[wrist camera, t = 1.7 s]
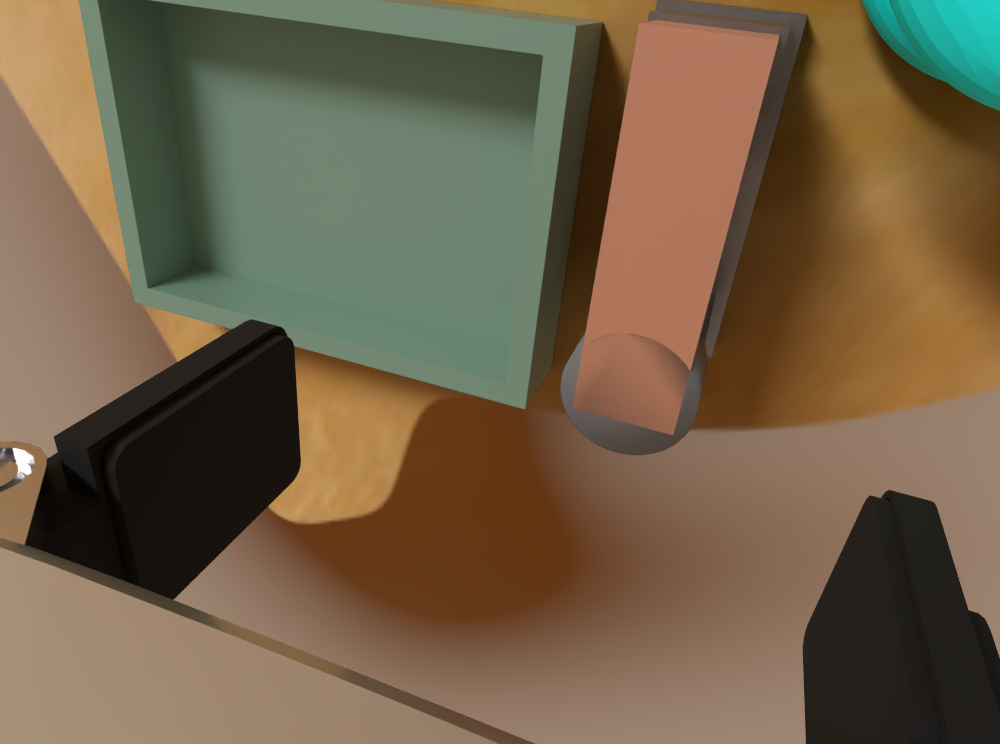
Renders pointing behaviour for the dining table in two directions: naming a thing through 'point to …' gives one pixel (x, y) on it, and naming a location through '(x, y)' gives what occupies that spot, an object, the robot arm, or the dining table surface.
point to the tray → (352, 174)
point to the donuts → (946, 41)
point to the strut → (665, 233)
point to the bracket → (789, 40)
